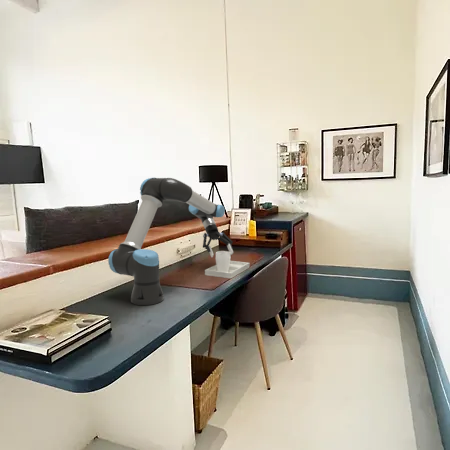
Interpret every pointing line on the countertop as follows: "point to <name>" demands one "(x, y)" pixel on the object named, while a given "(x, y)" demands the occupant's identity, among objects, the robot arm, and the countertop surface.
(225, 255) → the cup
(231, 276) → the tray
